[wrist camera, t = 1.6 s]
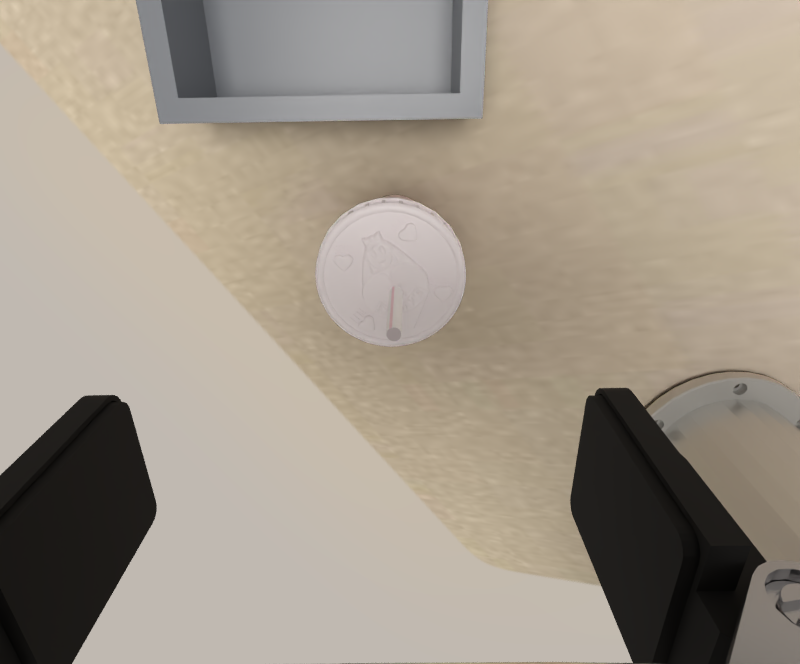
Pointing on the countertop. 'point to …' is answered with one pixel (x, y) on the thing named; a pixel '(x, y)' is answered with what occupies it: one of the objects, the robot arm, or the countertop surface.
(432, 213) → the smoothie
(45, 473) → the robot arm
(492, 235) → the countertop surface
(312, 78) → the box
